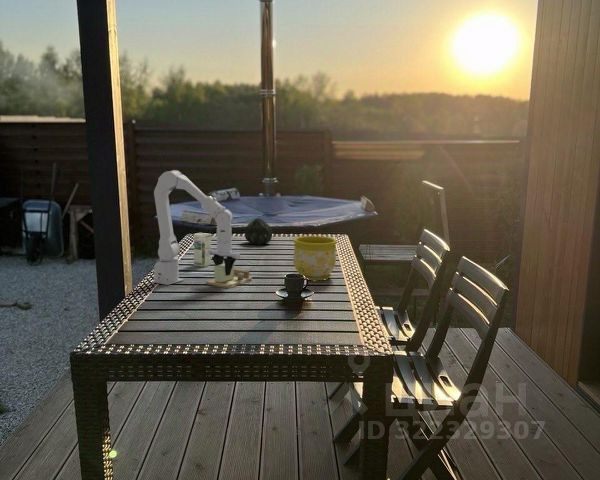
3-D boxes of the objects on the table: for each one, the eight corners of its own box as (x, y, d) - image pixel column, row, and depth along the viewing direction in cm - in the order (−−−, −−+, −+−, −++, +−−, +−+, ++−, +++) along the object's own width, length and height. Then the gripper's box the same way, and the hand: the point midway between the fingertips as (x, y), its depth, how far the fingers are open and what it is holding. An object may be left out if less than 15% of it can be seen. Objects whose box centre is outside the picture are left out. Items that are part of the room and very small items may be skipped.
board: (228, 288, 227) (228, 279, 227) (205, 284, 233) (205, 275, 232) (251, 280, 241) (252, 271, 240) (230, 276, 246) (230, 267, 246)
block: (221, 282, 229) (221, 267, 228) (214, 281, 231) (214, 266, 230) (233, 278, 236) (234, 263, 235) (226, 277, 238) (227, 262, 237)
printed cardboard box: (193, 265, 264) (193, 233, 261) (201, 263, 269) (201, 232, 266) (203, 267, 261) (203, 235, 259) (211, 264, 266) (211, 233, 264)
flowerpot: (327, 285, 236) (329, 245, 234) (286, 280, 242) (287, 241, 240) (340, 275, 253) (342, 238, 250) (301, 271, 259) (302, 234, 256)
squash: (264, 230, 331) (250, 211, 322) (281, 235, 321) (268, 216, 311) (248, 248, 326) (234, 230, 317) (265, 254, 315) (251, 235, 306)
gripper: (245, 241, 230) (244, 275, 233) (215, 237, 238) (215, 269, 240) (234, 244, 224) (234, 278, 227) (204, 239, 232) (204, 273, 234)
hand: (223, 274), depth 233 cm, fingers closed on block, 3 cm apart
